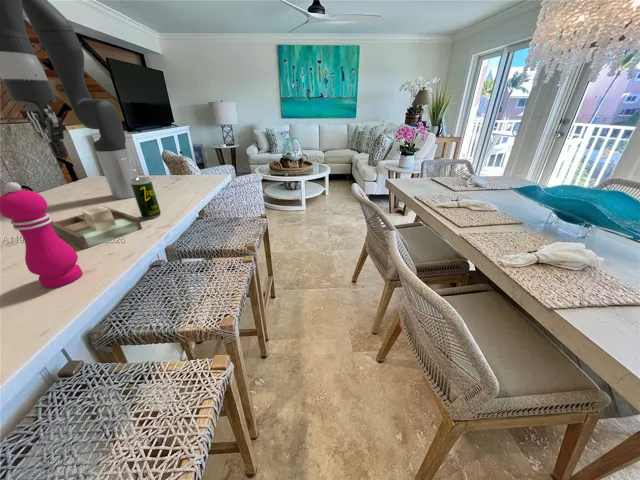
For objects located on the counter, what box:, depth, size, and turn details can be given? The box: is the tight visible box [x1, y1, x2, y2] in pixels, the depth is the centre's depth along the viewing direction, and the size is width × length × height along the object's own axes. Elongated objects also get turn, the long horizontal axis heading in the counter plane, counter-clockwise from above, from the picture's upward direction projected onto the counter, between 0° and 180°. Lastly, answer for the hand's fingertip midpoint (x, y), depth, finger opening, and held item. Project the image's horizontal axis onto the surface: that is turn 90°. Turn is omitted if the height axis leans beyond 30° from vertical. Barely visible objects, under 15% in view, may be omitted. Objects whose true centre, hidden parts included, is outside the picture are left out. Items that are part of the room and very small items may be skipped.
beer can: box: [131, 176, 162, 220], centre depth 82 cm, size 5×5×12 cm
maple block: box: [81, 205, 116, 231], centre depth 70 cm, size 4×4×4 cm
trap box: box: [50, 205, 143, 250], centre depth 74 cm, size 14×20×3 cm
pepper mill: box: [0, 181, 83, 289], centre depth 49 cm, size 7×7×20 cm
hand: (61, 157), depth 68 cm, fingers closed
